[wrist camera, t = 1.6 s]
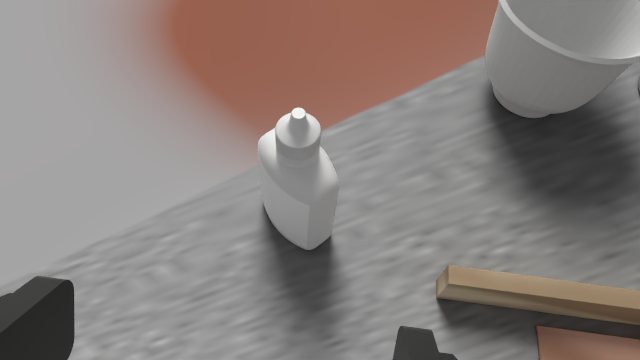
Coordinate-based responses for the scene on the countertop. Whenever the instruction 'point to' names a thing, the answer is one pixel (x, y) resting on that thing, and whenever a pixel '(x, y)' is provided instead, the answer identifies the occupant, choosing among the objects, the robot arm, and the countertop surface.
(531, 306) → the tan l-shaped piece
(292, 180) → the eye dropper bottle
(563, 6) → the teacup
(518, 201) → the countertop surface
